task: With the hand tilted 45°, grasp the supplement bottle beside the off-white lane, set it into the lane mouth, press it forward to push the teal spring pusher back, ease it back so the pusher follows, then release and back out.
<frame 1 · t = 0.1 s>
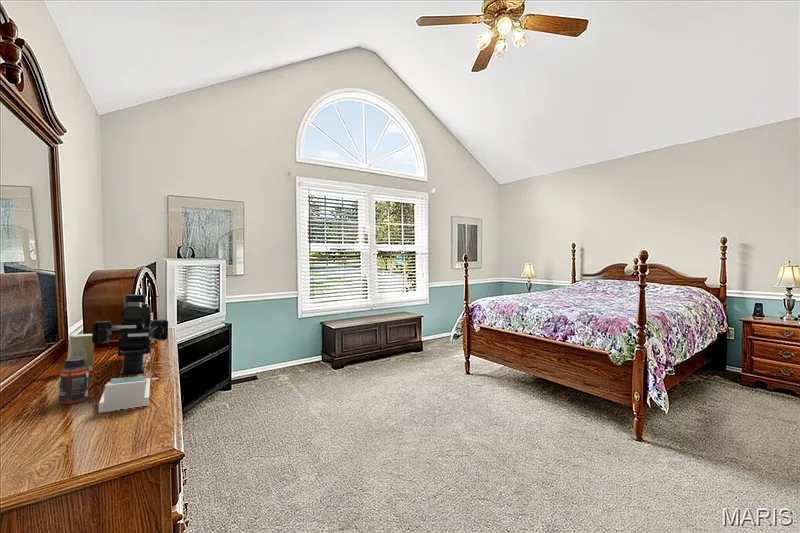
hand: (130, 335, 109), 17 cm above the dresser, tool horizontal, fingers open, 9 cm apart
supplement bottle: (73, 402, 101), on the dresser
skincare box: (79, 371, 129), on the dresser
lane: (126, 397, 105), on the dresser
pusher: (127, 386, 105), point 3 cm above the dresser, slide at 0.0 cm
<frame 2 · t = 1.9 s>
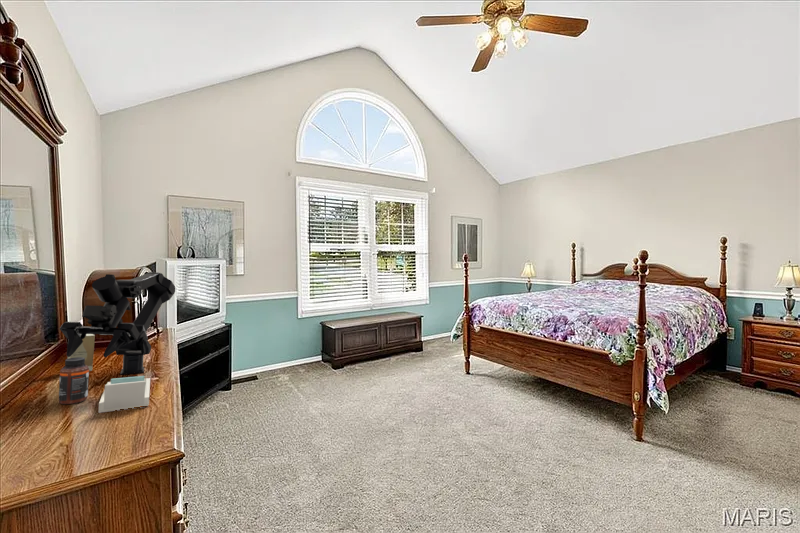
hand: (86, 356, 106), 11 cm above the dresser, tool tilted 45°, fingers open, 9 cm apart
nothing on the dresser moved.
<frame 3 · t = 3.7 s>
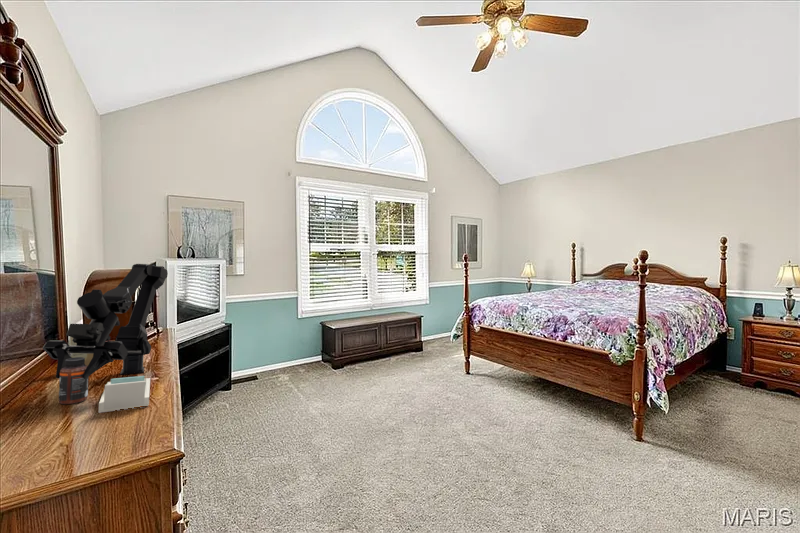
hand: (70, 377, 100), 7 cm above the dresser, tool tilted 45°, fingers closed on supplement bottle, 6 cm apart
supplement bottle: (73, 401, 101), on the dresser, touching gripper
everything else where it was.
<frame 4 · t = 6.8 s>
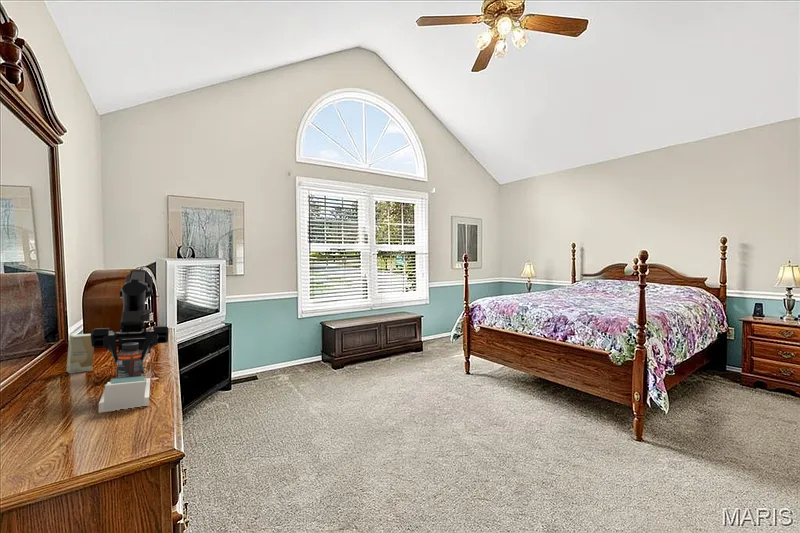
hand: (129, 360, 109), 10 cm above the dresser, tool tilted 45°, fingers closed on supplement bottle, 6 cm apart
supplement bottle: (128, 383, 110), point 3 cm above the dresser, touching gripper
everything else where it was.
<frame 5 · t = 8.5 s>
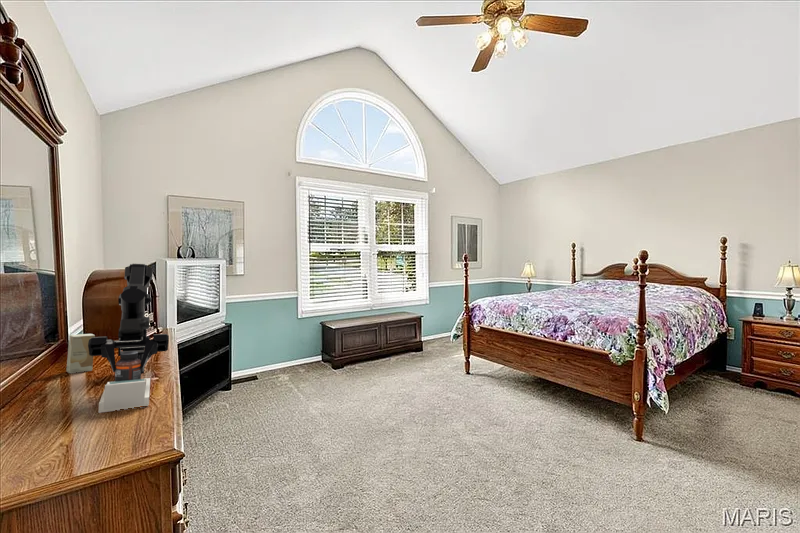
hand: (128, 370, 105), 8 cm above the dresser, tool tilted 45°, fingers closed on supplement bottle, 6 cm apart
supplement bottle: (127, 393, 106), point 1 cm above the dresser, touching gripper, pusher
pusher: (126, 390, 103), point 3 cm above the dresser, slide at 3.2 cm, touching supplement bottle
everything else where it was.
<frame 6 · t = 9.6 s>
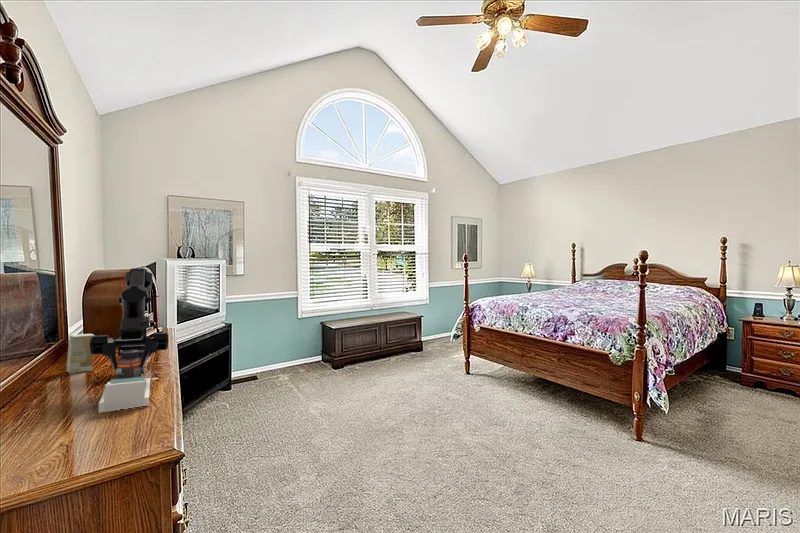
hand: (128, 368, 107), 8 cm above the dresser, tool tilted 45°, fingers closed on supplement bottle, 6 cm apart
supplement bottle: (127, 391, 109), point 1 cm above the dresser, touching gripper
pusher: (127, 387, 105), point 3 cm above the dresser, slide at 0.7 cm
everything else where it was.
when the fingers open (8 cm above the dresser, at t = 9.8 s): supplement bottle stays where it is, resting on lane.
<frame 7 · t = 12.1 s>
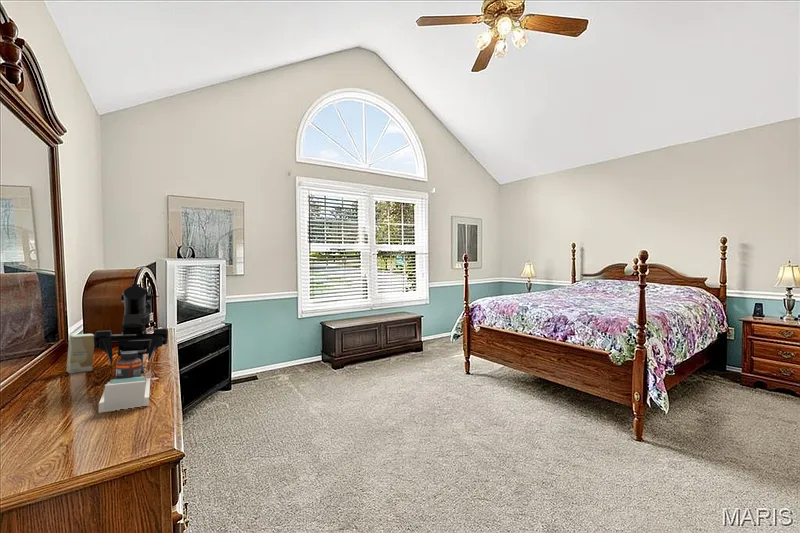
hand: (130, 361, 114), 8 cm above the dresser, tool tilted 45°, fingers open, 9 cm apart
supplement bottle: (127, 392, 109), resting on lane
everything else where it was.
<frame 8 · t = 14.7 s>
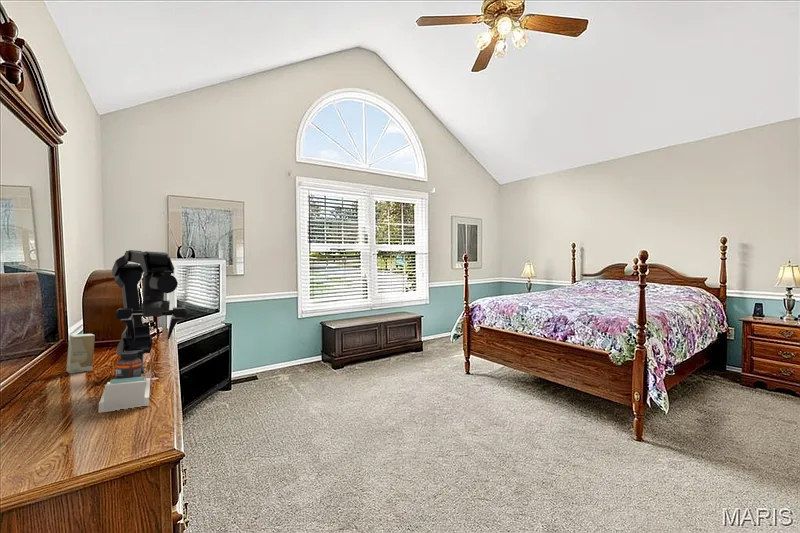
hand: (151, 340, 121), 13 cm above the dresser, tool pointing down, fingers open, 9 cm apart
nothing on the dresser moved.
at the end: supplement bottle 0.3 cm from the target spot on the lane, point 0.4 cm above the lane's base; supplement bottle tilted 0°; pusher slide at 0.7 cm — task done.
